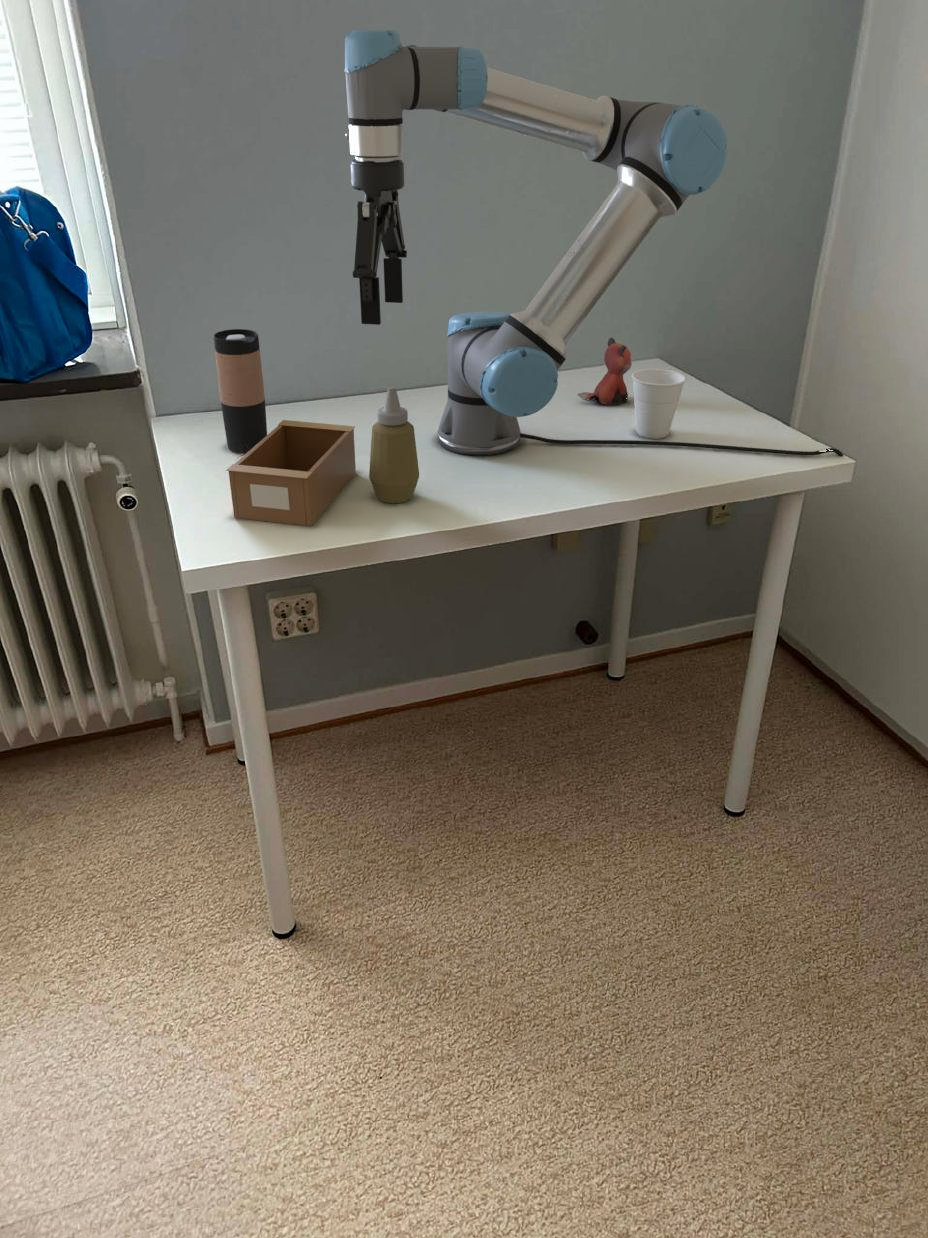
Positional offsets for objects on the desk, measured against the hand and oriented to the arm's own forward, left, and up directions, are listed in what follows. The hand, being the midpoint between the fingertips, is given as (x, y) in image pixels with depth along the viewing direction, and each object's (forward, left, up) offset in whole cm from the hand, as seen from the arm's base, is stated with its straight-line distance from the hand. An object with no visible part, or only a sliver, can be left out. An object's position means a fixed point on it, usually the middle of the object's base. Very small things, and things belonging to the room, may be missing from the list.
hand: (383, 312), depth 146 cm
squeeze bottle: (-3, +6, -28) cm, 29 cm away
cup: (-42, -35, -28) cm, 61 cm away
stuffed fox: (-31, -52, -28) cm, 66 cm away
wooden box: (+13, +9, -28) cm, 32 cm away
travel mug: (+29, -9, -28) cm, 42 cm away
